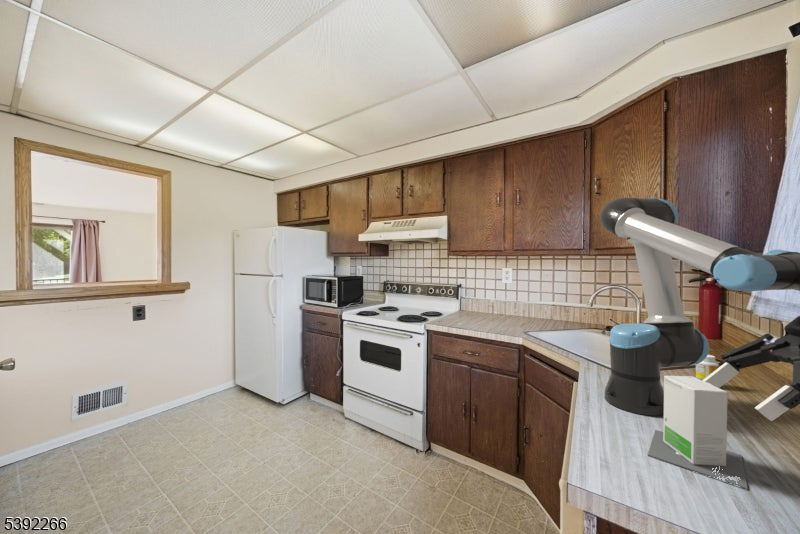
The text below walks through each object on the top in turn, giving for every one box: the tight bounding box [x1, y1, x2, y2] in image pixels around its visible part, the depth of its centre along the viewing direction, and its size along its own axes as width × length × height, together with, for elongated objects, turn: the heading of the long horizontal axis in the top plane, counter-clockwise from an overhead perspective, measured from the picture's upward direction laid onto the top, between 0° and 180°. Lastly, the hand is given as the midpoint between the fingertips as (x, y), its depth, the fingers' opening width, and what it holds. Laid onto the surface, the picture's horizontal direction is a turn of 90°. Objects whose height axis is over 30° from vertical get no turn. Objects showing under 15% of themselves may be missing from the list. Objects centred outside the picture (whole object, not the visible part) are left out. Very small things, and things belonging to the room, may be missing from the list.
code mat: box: [647, 429, 749, 491], centre depth 63 cm, size 14×14×1 cm
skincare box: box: [662, 375, 729, 466], centre depth 63 cm, size 8×7×16 cm
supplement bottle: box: [695, 354, 720, 380], centre depth 101 cm, size 6×6×10 cm
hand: (732, 399), depth 60 cm, fingers open, 13 cm apart
